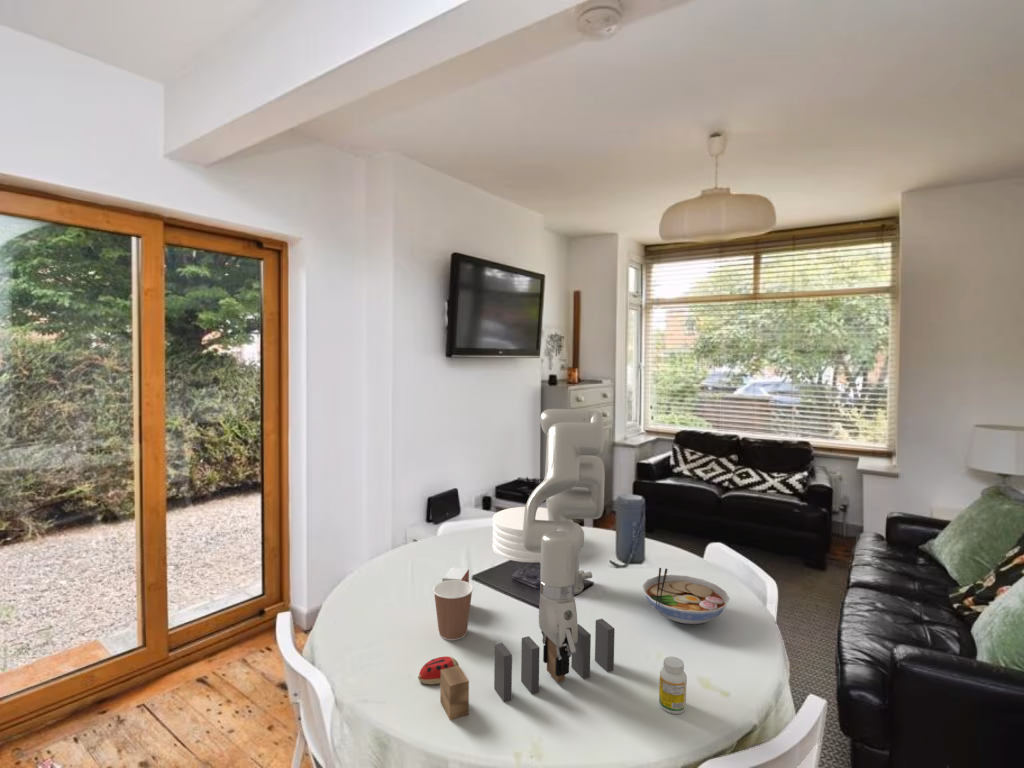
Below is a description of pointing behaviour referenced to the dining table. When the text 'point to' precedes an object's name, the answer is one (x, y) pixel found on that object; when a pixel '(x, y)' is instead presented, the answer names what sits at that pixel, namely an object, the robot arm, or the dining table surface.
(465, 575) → the small box
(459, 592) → the coffee cup
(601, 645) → the domino
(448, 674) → the end block
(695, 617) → the ramen bowl
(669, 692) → the supplement bottle
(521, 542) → the plate stack
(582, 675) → the domino
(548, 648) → the domino
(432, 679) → the ladybug figurine
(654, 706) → the dining table surface
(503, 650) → the domino
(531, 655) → the domino
